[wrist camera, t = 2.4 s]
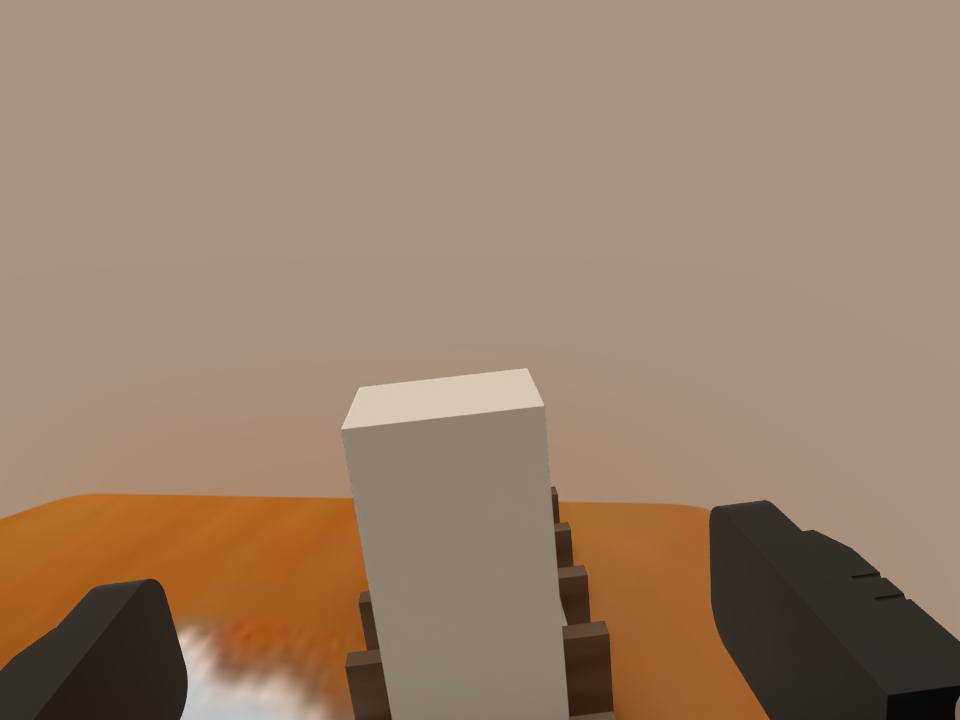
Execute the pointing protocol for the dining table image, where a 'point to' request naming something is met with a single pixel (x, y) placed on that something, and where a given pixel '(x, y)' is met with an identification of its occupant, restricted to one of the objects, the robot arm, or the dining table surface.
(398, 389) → the beige tall block
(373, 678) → the rack
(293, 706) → the dining table surface
